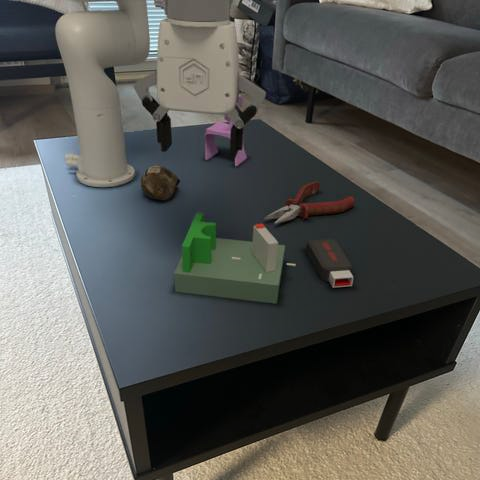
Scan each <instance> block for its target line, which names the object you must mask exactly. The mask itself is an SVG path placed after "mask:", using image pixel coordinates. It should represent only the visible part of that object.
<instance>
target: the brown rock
mask: <svg viewBox="0 0 480 480" xmlns="http://www.w3.org/2000/svg"><path fill="white" fill-rule="evenodd" d="M180 182H181V180H180V178H179V177H178V176H177V175H176V174H175V173H174V172H173V171H171V170H170V169H169V168H166V167H164V166H161V165H153V166H150V167H148V168H147V169H146V170H145V172H144V174H142V176H141V177H140V186H141V189H142V192H144V194H145V195H146V196H148V197H149V198H151V199H153V200H158V201H167V200H169V199H170V198H171V197H172V196H173V195H174V193H175V191H176V189H177V187H178V186H179V184H180Z"/></svg>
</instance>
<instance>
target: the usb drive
mask: <svg viewBox="0 0 480 480" xmlns="http://www.w3.org/2000/svg"><path fill="white" fill-rule="evenodd" d="M305 252H306V255H307V256H308V258H309V260H310V262H311V264H312V265H313V267H314V269H315V271H316V273H317V275H318V276H319V278H320V279H321V280H322V281H324V282H325V283H329V284H330V286H331V288H332V289H333V288H334V289H335V288H345V287H352V286H353V284H354V279H355V277H354V276H353V273H352V270H353V264H352V263H351V261H350V260H349V258H348V256H347V255H346V254H345V252H344V251H343V249H342V248H341V245H340V244H339V243H338V241H337V240H335V239H333V238H330V239H329V238H327V239H313V240H309V241H308V242H307V243H306V248H305Z"/></svg>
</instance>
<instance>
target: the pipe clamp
mask: <svg viewBox="0 0 480 480" xmlns="http://www.w3.org/2000/svg"><path fill="white" fill-rule="evenodd" d="M216 238H217V223H216V222H208V221H204V212H196V213H195V215H194V217H193V220H192V222H191V225H190V226H189V229H188V232H187V233H186V236H185V238H184V241H183V243H182V245H181V258H182V265H183V272H188V273H190V271H191V269H192V266H193V263H204V264H210V263H211V250H215V248H216Z"/></svg>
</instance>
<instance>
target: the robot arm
mask: <svg viewBox="0 0 480 480" xmlns="http://www.w3.org/2000/svg"><path fill="white" fill-rule="evenodd" d="M69 1H70V2H74V3H75V2H77V3H100V2H101V3H102V2H105V3H106V2H116V4H117V7H118V9H110V10H109V9H105V10H104V9H103V10H102V9H95V10H94V9H92V10H77V11H70V12H68V13H65V14H63V15H61V16H60V17H59V18H58V20H57V22H56V24H55V28H54V31H55V32H54V33H55V40H56V43H57V47H58V50H59V54H60V56H61V59H62V60H61V61H62V63H63V66H64V70H65V75H66V78H67V82H68V88H69V93H70V98H71V104H72V111H73V116H74V123H75V128H76V134H77V141H78V147H79V153H78V154H75V153H65V155H64V160H65V164H66V166H67V167H76V168H77V171H76V173H75V174H76V179H77V180H78V182H80V183H81V184H82V185H85V186H89V187H94V188H111V187H112V188H113V187H118V186H122V185H125V184H127V183H129V182H131V181H132V180H133V179H134V178H135V176H136V170H135V168H134V167H133V166H132V165H131V164H128V162H127V154H126V153H127V152H126V143H125V134H124V124H123V115H122V106H121V98H120V92H119V89H118V87H117V85H116V84H115V83H114V81H113V80H112V79H111V78H110V77H109V76H108V75H107V74H106V72H105V69H108V68H113V67H125V66H135V65H140V64H142V63H144V62H145V61H146V60H147V59H148V57H149V55H150V48H151V39H150V37H151V36H150V25H149V14H148V3H147V0H69ZM153 4H154V7H155V8H161V10H163V11H164V15H165V16H166V18H164V19H161V20H159V25H158V34H157V35H158V36H157V49H156V50H157V53H156V54H157V55H156V56H157V57H156V70H155V71H154V72H152V73H150V74H148V75H146V76H144V77H142V78H140V79H138V80H137V81H135V83H133V89H134V91H135V93H136V94H137V96H138V98H139V100H140V101H141V105H142V106H143V108H144V109H145V110H146V111H147V112H148V113H149V114H150V115H151V118H152V120H153V121H154V122H156V123H155V124H156V126H155V127H156V140H157V143H158V144H160V151H161V152H163V153H167V151H168V150H169V149H170V148H171V146H172V143H173V137H172V136H173V135H172V119H171V118H172V117H170V115H169V113H168V112H170V111H174V112H184V113H195V114H206V115H225V114H227V116H228V117H229V119H230V120H231V121H232V123H233V126H232V128H231V133H230V139H229V157H230V159H235V157H236V155H237V153H238V150H242V147H243V145H244V138H243V133H244V127H245V125H246V124H247V123H249V121H251V120H252V119H253V118H254V117H255V116H256V114H257V112H258V111H259V109H260V108H261V106H262V104H263V102H264V100H265V99H266V96H267V91H266V90H264V89H262V88H261V87H259V86H258V85H256V84H255V83H253V82H252V81H250V80H249V79H248V78H246V77H244V76H243V75H242V74H240V59H239V45H238V44H239V43H238V36H237V28H236V23H235V22H234V21H231V0H153ZM154 85H156V95H157V100H156V99H155V98H154V97H153V96H152V94H151V92H150V89H149V88H151V87H152V86H154ZM240 91H242V92H243V93H245V94H246V95H248V96H249V97H251V102H250V104H249V105H248V106H247V107H245V109H244V110H242V107H241V108H240V107H239V105H238V104H237V102H238V98H239V95H240Z"/></svg>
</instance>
